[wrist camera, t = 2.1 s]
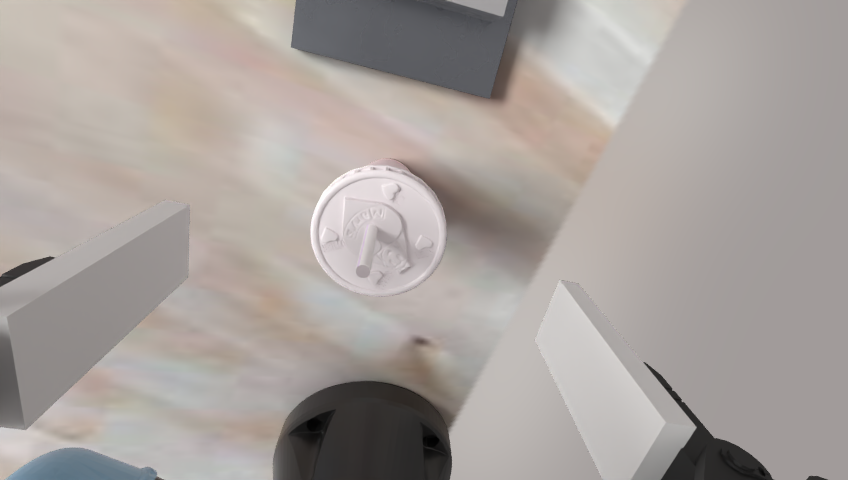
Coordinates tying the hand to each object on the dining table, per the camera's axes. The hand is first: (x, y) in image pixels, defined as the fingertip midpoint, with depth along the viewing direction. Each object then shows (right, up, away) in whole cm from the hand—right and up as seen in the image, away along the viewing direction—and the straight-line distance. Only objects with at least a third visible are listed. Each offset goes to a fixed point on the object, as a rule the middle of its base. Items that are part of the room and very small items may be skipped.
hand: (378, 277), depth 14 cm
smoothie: (-1, +5, +13) cm, 14 cm away
